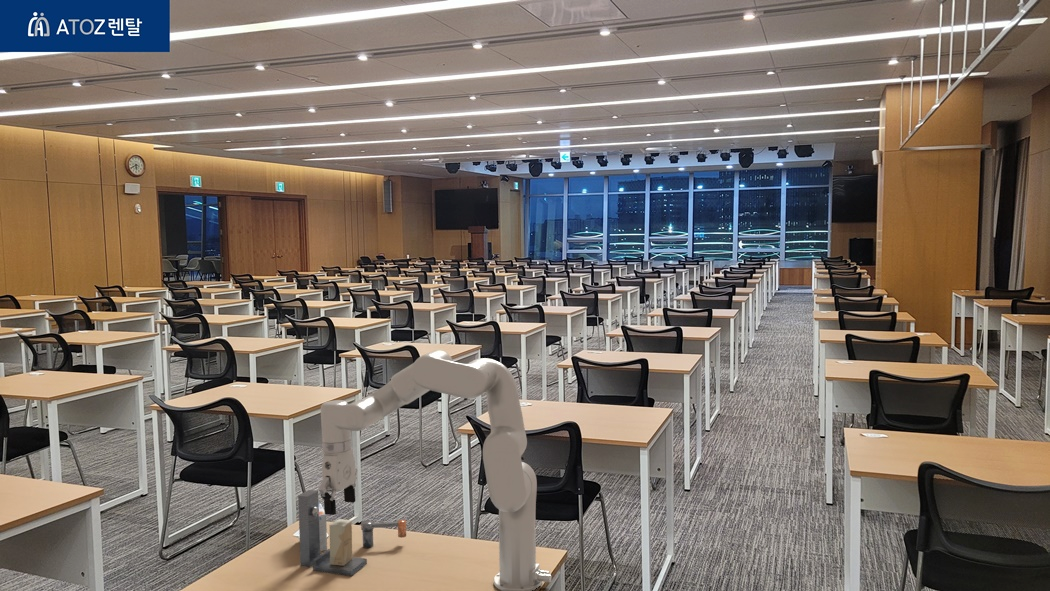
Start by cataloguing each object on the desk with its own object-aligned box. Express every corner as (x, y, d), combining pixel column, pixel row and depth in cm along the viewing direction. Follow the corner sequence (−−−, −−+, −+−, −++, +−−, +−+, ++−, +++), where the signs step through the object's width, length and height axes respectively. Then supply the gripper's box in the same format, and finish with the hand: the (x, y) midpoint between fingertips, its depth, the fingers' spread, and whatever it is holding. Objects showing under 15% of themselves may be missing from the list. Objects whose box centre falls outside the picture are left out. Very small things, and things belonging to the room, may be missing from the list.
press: (366, 564, 204) (364, 493, 203) (351, 576, 196) (349, 503, 195) (314, 556, 209) (312, 488, 208) (297, 568, 202) (294, 497, 200)
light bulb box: (299, 541, 221) (297, 506, 220) (322, 537, 224) (320, 502, 223) (304, 554, 211) (303, 517, 210) (328, 550, 214) (327, 514, 213)
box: (343, 566, 199) (342, 526, 198) (329, 564, 200) (328, 525, 200) (353, 558, 204) (352, 519, 203) (339, 556, 205) (338, 518, 205)
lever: (361, 540, 214) (360, 525, 214) (362, 536, 218) (361, 520, 217) (406, 538, 216) (405, 522, 215) (406, 533, 219) (406, 518, 219)
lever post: (375, 544, 217) (374, 528, 217) (370, 548, 214) (369, 532, 214) (366, 543, 218) (365, 527, 218) (360, 547, 215) (360, 531, 215)
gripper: (331, 455, 190) (334, 520, 191) (365, 438, 207) (368, 498, 208) (306, 454, 193) (310, 518, 194) (342, 437, 209) (345, 496, 210)
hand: (340, 507), depth 201 cm, fingers open, 9 cm apart
